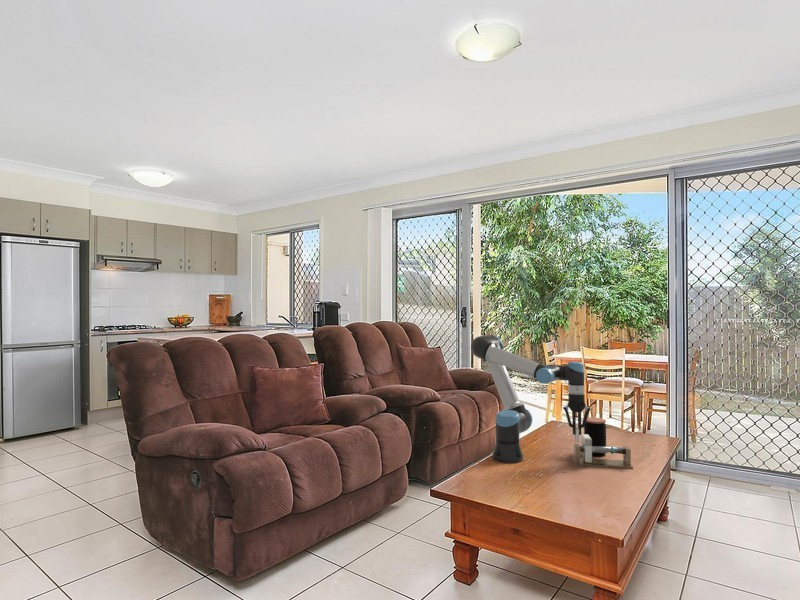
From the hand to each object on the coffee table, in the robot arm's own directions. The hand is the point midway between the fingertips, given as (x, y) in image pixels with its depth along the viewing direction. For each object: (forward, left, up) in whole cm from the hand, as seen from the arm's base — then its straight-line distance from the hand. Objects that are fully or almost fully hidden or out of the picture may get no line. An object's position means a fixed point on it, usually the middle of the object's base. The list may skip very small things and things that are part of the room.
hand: (577, 441), depth 250 cm
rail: (+12, 0, -11) cm, 16 cm away
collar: (+5, 0, -9) cm, 10 cm away
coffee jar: (+12, +17, -11) cm, 23 cm away
